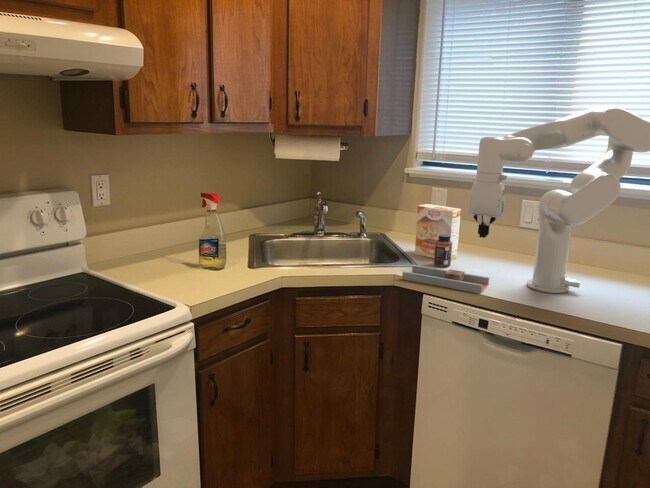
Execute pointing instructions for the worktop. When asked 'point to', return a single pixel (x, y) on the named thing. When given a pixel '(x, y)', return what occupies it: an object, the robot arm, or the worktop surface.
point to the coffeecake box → (436, 228)
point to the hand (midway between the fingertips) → (483, 236)
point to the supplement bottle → (443, 251)
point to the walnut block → (455, 275)
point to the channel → (438, 278)
